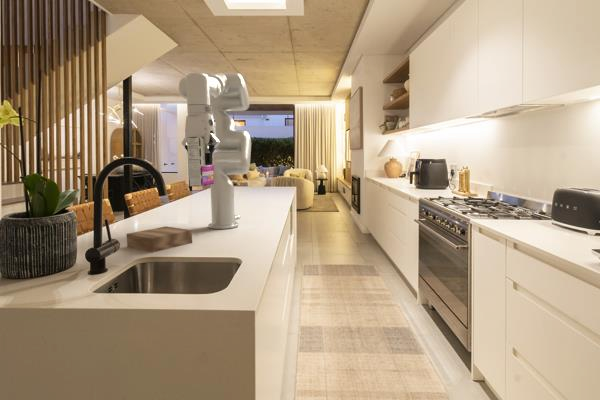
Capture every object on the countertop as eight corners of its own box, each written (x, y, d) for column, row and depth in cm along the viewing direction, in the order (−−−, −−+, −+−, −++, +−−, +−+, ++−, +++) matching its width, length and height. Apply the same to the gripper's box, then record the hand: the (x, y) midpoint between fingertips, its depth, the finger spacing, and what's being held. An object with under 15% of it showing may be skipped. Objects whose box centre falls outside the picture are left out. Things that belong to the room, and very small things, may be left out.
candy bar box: (201, 183, 148) (199, 137, 146) (214, 183, 147) (213, 137, 145) (188, 186, 137) (185, 136, 135) (202, 186, 136) (200, 136, 134)
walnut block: (166, 239, 153) (165, 226, 152) (192, 244, 145) (191, 230, 144) (127, 248, 140) (126, 233, 139) (153, 253, 132) (152, 238, 131)
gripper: (226, 110, 138) (228, 164, 141) (186, 113, 146) (188, 164, 148) (212, 109, 132) (214, 165, 134) (171, 111, 139) (174, 165, 141)
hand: (201, 164), depth 141 cm, fingers closed on candy bar box, 6 cm apart
